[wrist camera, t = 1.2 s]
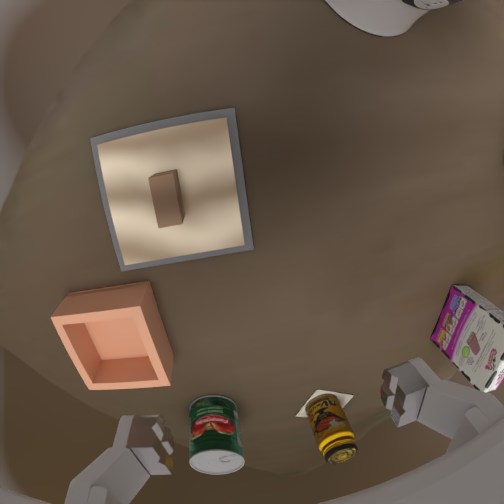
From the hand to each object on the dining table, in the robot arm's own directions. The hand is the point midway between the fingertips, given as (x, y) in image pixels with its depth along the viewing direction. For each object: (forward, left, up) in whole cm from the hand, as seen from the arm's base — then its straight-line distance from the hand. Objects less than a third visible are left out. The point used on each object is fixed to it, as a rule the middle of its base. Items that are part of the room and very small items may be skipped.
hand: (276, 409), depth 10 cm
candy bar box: (+22, +35, -27) cm, 50 cm away
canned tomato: (+31, -8, -27) cm, 42 cm away
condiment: (+36, +11, -27) cm, 47 cm away
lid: (-4, -6, -26) cm, 27 cm away
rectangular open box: (+12, -17, -27) cm, 34 cm away
